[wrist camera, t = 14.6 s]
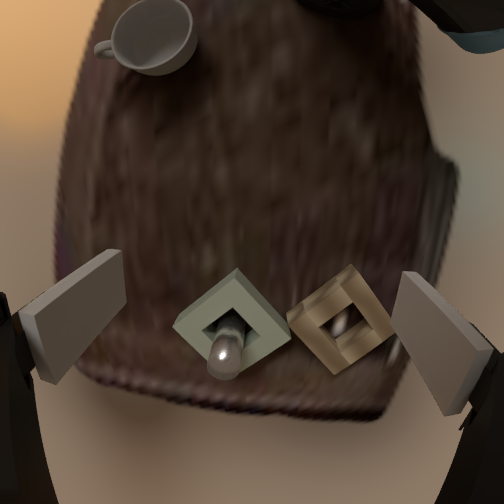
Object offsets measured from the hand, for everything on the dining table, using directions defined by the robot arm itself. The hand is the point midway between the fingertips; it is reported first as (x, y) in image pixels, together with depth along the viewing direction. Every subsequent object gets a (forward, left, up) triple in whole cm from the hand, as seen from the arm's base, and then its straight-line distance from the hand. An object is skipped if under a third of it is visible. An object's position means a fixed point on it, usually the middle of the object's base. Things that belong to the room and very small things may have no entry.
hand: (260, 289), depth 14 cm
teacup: (-4, -27, -29) cm, 40 cm away
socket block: (+14, +11, -29) cm, 34 cm away
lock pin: (+15, +10, -29) cm, 34 cm away
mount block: (+1, +21, -29) cm, 36 cm away
